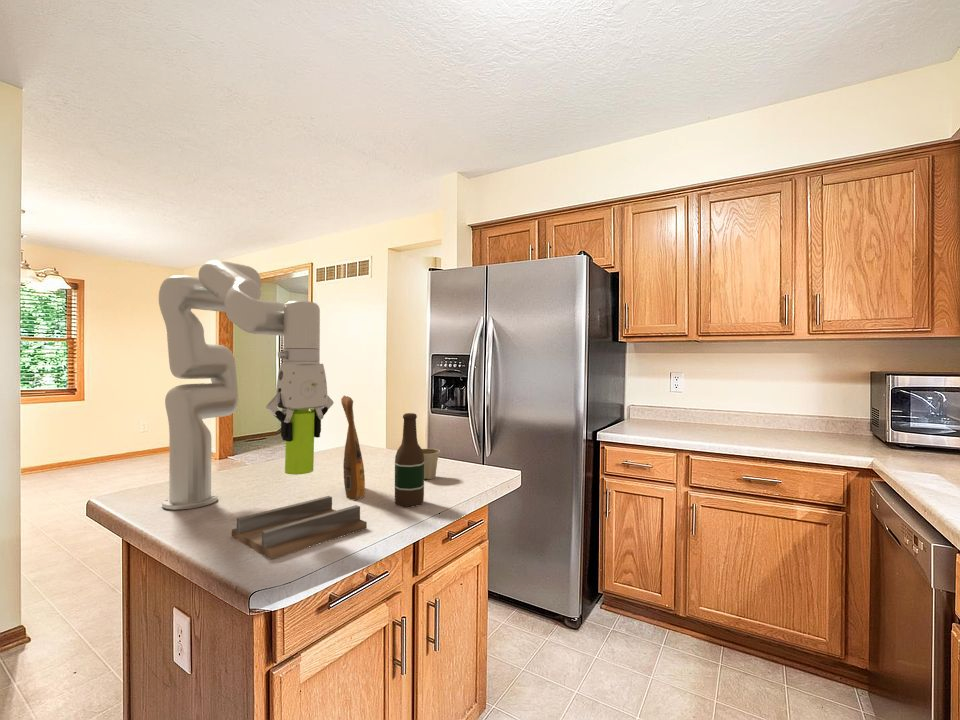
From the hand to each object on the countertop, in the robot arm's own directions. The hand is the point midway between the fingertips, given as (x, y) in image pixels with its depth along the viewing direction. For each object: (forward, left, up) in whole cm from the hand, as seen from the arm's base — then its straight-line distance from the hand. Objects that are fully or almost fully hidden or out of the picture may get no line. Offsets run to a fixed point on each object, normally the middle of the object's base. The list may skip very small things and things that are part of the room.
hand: (301, 437), depth 104 cm
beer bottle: (+2, +30, -21) cm, 37 cm away
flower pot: (-15, +52, -21) cm, 58 cm away
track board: (0, 0, -21) cm, 21 cm away
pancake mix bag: (-18, +26, -21) cm, 38 cm away
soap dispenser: (0, 0, -8) cm, 8 cm away
